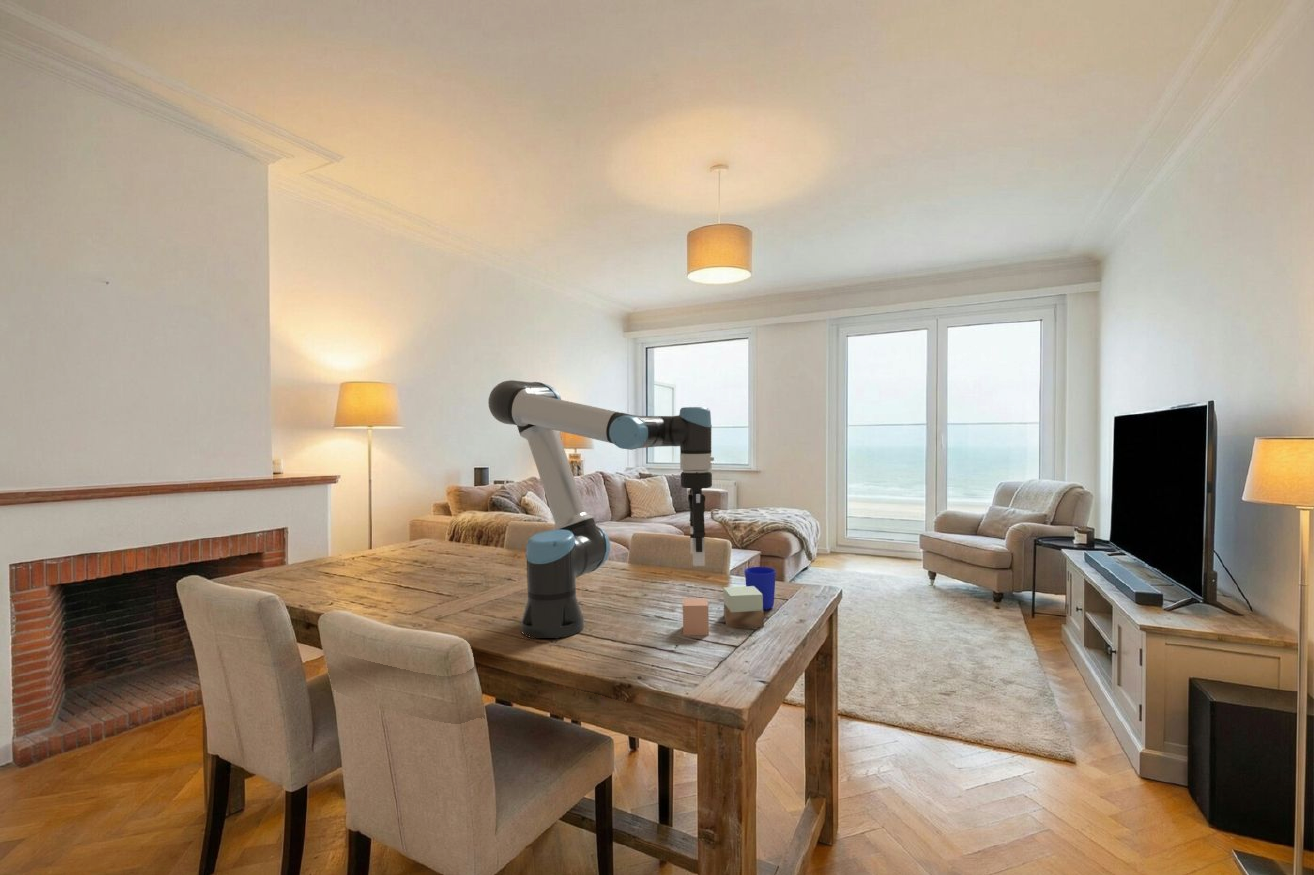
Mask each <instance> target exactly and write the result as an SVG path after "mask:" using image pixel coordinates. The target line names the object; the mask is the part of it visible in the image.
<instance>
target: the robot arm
mask: <svg viewBox="0 0 1314 875" xmlns="http://www.w3.org/2000/svg"><path fill="white" fill-rule="evenodd" d="M488 408H489V411H490V413H491V415H492V417H493V418H494V419H496V420H497V421H498V422H500V423H501V424H505V425H509V426H510V425H515V426H516V427H517V430H518V433H519V436H520V437H521V438H523V439H525V440H527V442H528V445H529V448H530V451H531V454H532V458H533V461H534V463H535V466H536V470H537V473H538V476H539V478H540V482H541V485H542V488H543V490H544V494H545V497H546V500H547V504H548V506H549V508H550V512H551V515H552V518H553V521H554V525H553V528H552V529H550V530H546V531H545V530H544V531H540V532H538V533H535V534H534V535H532V536H530V537H529V539H528V540H527V542H526V553H525V559H526V577H527V578H526V579H527V582H526V583H527V600H526V601H527V602H526V605H525V607H524V612H523V615H522V618H521V621H520V626H521V628H520V631H522V632H523V633H524V634H525V635H527V636H530V637H534V638H533V639H536V638H555V639H560V638H559V637H562V638H567V637H570V636H573V635H576V634H577V633H579V632H581V631H583V629H584V627H585V623H584V621H585V620H584V619H585V618H584V616H583V612H582V610H581V607H580V604H579V602H578V599H577V591H576V590H577V589H576V584H577V583H576V581H577V580H576V578H577V579H578V578H579V577H581V576H583V575H586V574H588V573H592V572H594V571H596V570H597V569H598V568H600V567H602V566H603V565H604V564H605V563H606V561H607V560H608V557H609V556H610V552H611V541H610V538H609V536H608V534H607V532H606V531H605V530H604V529H602V528H601V527H600V526H598V525H597V524H596V522H595V518H594V517H593V516H592V515H590V514H589V513H587V512H586V509H585V507H584V504H583V501H582V498H581V495H580V492H579V488H578V486H577V483H576V480H575V477H574V474H573V472H572V471H573V470H572V467H571V465H570V462H569V459H568V456H567V453H566V450H565V447H564V444H563V442H562V438H561V436H560V432H563V433H567V434H571V435H575V436H579V437H584V438H588V439H592V440H596V441H601V442H606V443H609V444H613V445H614V446H616V448H617V447H618V448H619V449H621V450H622V449H623V450H629V451H630V450H632V451H633V450H637V449H643V448H657V447H660V448H661V447H679V448H680V449H679V451H680V454H679V461H680V462H679V466H680V471H681V473H680V487H681V488H683V489H688V490H689V494H688V495H687V501H688V509H689V527H690V528H689V534H690V535H689V536H690V538H689V540H690V542H689V544H690V546H689V547H690V554H692V566H693V567H705V566H706V553H705V552H706V549H705V546H706V545H705V544H706V542H705V540H706V538H705V536H706V531H705V510H706V506H705V503H706V495H705V494H703V491H702V490H703V489H710V488H711V487H712V486H713V473H712V472H711V470H712V462H714V461H715V457H713V456H712V428H713V426H712V416H711V414H712V413H711V410H710V409H709V408H708V407H706V406H688V407H687V406H686V407H685V406H684V407H681V408H680V409H679V414H678V415H669V416H668V415H634V414H630V413H626V412H619V411H616V410H611V409H605V408H600V407H598V406H597V407H596V406H592V405H586V404H582V403H578V402H573V401H569V400H563V399H562V398H561V395H560V393H559V392H558V391H557V390H556V389H555V387H553V386H551V385H549V384H546V383H543V382H539V381H531V382H530V381H521V380H511V379H510V380H505V381H501V382H500V383H498V384H497V385H495V386H494V387H493V388H492V389H491V391H490V394H489V397H488ZM522 632H521V633H522ZM525 635H524V636H525ZM527 636H526V637H527ZM530 637H529V638H530Z"/></svg>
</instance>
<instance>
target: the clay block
mask: <svg viewBox="0 0 1314 875" xmlns="http://www.w3.org/2000/svg"><path fill="white" fill-rule="evenodd" d="M709 615H710V614H709V600H708V598H707V597H705V598H704V597H702V598H701V597H697V598H695V597H693V598H689V597H688V598H684V597H683V598H682V633H683V634H682V635H683V636H709V635H710V626H709V624H710V623H709V621H710V619H709V617H710V616H709Z"/></svg>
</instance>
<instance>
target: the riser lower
mask: <svg viewBox="0 0 1314 875" xmlns="http://www.w3.org/2000/svg"><path fill="white" fill-rule="evenodd" d="M764 614H765V612H764V610H763V611H749V612H730V611H729V609H728V608H727V607H726V605H725V604H724V603H723V618H724V621H725V625H726V626H725V627H726V628H759V627H761V628H763V627H765V618H764V616H765V615H764Z"/></svg>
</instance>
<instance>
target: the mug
mask: <svg viewBox="0 0 1314 875" xmlns="http://www.w3.org/2000/svg"><path fill="white" fill-rule="evenodd" d="M744 576H745V586H754V587H755V588H757V589H758V590H759V591H760V592H761V593H762V594H763V611H765V610H770V609H772V608H773V607H774V604H775V592H776V591H775V590H776V577H777V576H776V570H775V569H774V568H773V567H772V568H771V567H767V566H751V567H746V568H745V570H744Z"/></svg>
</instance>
